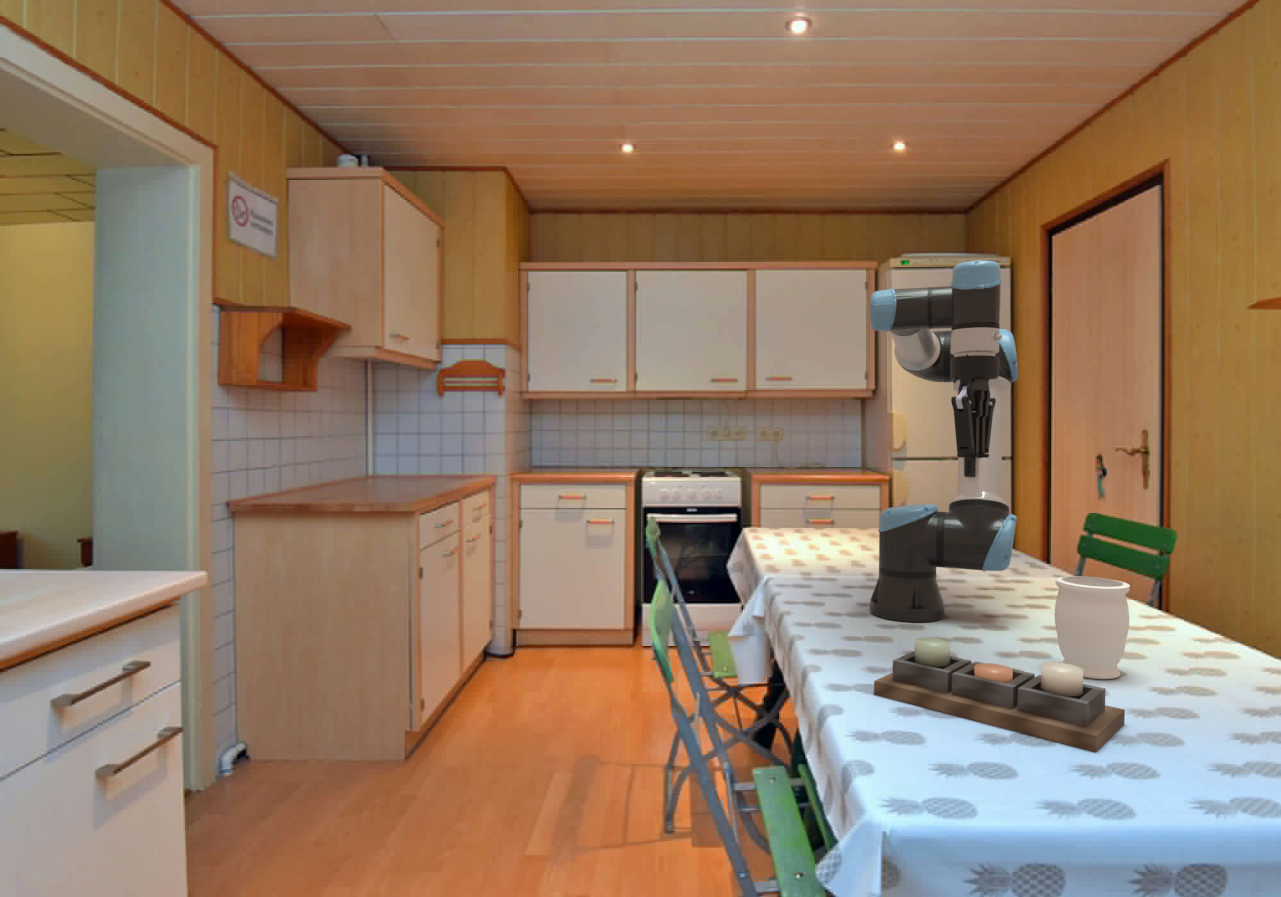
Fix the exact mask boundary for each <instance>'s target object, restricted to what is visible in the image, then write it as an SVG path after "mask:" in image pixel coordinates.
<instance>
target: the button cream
mask: <svg viewBox="0 0 1281 897" xmlns="http://www.w3.org/2000/svg"><path fill="white" fill-rule="evenodd" d="M1040 668H1041V669H1040V670H1041V671H1040V675H1041V689H1043V690H1044V691H1046V692H1049V693H1053V694H1057V695H1062V696H1080V695H1082V694H1083V684H1084V677H1083V669H1081V668H1080V667H1077V666H1074V665H1070V664H1065V663H1062V662H1056V661H1055V662H1054V661H1051V662H1043V663H1042V664H1041V666H1040Z"/></svg>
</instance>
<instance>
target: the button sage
mask: <svg viewBox="0 0 1281 897" xmlns="http://www.w3.org/2000/svg"><path fill="white" fill-rule="evenodd" d="M914 651H915V662H917V663H919V664H922V665H927V666H932V667H944V666H948V665H950V656H951V642H950V641H948V640H945V639H942V638H936V637H919V638H915V640H914Z"/></svg>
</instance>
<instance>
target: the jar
mask: <svg viewBox="0 0 1281 897" xmlns="http://www.w3.org/2000/svg"><path fill="white" fill-rule="evenodd" d="M1055 585H1056V586H1057V587H1058V592H1057V596H1056V600H1055V605H1054V624H1055V630H1056V634H1057V636H1056V637H1057V643H1058V649H1059V650H1060V653H1061V655H1062V657H1063V658H1064V659H1063V661H1061V663H1065V664H1070V665H1074V666H1077V667H1080V668H1081V669H1083V678H1085V679H1092V680H1093V679H1094V680H1113V679H1117V678H1119V677H1120V676H1121V671H1120V669H1119V667H1118V664H1120V662H1121V660H1122V658H1123V656H1124V653H1125V648H1126V641H1127V638H1128V636H1129V635H1128V634H1129V628H1130V611H1129V610H1130V609H1129V604H1128V599H1127V597H1126V594H1128V593H1129V592H1130V589H1131V588H1130V587H1131V586H1130V584H1129V583H1127V582H1124V581H1121V580H1115V579H1110V578H1104V577H1095V576H1084V575H1083V576H1080V575H1078V576H1076V575H1075V576H1073V575H1071V576H1070V575H1069V576H1061V577H1056V578H1055Z"/></svg>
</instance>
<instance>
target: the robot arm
mask: <svg viewBox="0 0 1281 897" xmlns="http://www.w3.org/2000/svg"><path fill="white" fill-rule="evenodd" d="M951 277H952V278H951V283H950V284H951V285H946V286H944V285H943V286H932V287H909V288H889V289H883V290H876V291H874V292H873V293H872V294H871V296H870V299H869V300H870V301H869V322H870V327H871V328H872V330H873V331H876V332H886V333H887V332H889V334H890V336H891V338H892V340H893V342H894V343H893V344H894V356H895V359H896V361H897V363H898V365H899V366H900V367H901V368H902V369H903V370H905V371H906V372H908V373H909V374H911V375H913V376H915V377H916V378H919V379H922V380H926V381H928V382H934V383H953V385H952V386H953V390H954V391H955V392H956V393H957V396H951V399H950V403H951V406H952V409H953V416H954V417H953V419H954V428H955V429H954V430H955V443H956V452H957V453H956V456H957V457H958V458H957V461H958V462H957V482H956V483H957V485H956V486H957V487H956V497H955V498H953V499H952V500H951V501H949V504H948V511H939V508H938V506H937V505H936V504H934V503H927V504H926V503H921V504H920V503H919V504H907V505H899V506H892V507H888V508H886V509H883V510H882V511H881V513H880V516H879V528H878V530H877V532H878V533H879V534H878V537H879V538H878V539H879V541H878V544H879V545H878V546H879V548H878V550H879V551H878V552H879V553H878V578H877V580H876V582H875V586H874V589H873V592H872V594H871V597H870V601H869V612H870V613H871V614H872V615H874V616H876V617H878V618H882V619H887V620H893V621H899V622H911V623H913V622H915V623H923V622H924V623H926V622H928V623H929V622H935V621H936V622H937V621H940V620H943V619H944V618H945V612H946V611H945V610H946V609H945V604H944V600H943V597H942V594H941V590H940V588H939V584H938V581H937V568H945V569H957V570H974V571H982V572H989V571H990V572H1003V571H1005V570H1007V569H1008V568H1009V566H1010V563H1011V558H1012V552H1013V547H1014V540H1015V533H1016V526H1017V521H1018V517H1017V515H1014V514H1013V513H1010V505H1009V504H1008V503H1007V502H1006V501H1005V500H1003V498H1002V484H1003V483H1002V481H1003V480H1002V479H1003V478H1002V476H1003V475H1002V474H1003V473H1002V472H1003V470H1002V469H1003V468H1002V467H1003V419H1004V418H1003V405H1004V404H1003V403H1004V400H1003V399H1004V395H1005V394H1006V393H1007V392H1009V391H1010V389H1011V386H1012V385H1011V384H1012V383H1014V382H1016V381H1017V380H1018V379H1019V366H1018V356H1017V349H1016V342H1015V338H1014V335H1013V333H1012V332H1011V330H1009V329H1006V328H1001V327H1000V322H1001V321H1000V317H1001V316H1000V314H1001V289H1002V288H1001V286H1002V278H1001V277H1002V276H1001V266H1000V264H999V263H998V262H996V261H994V260H972V261H971V260H970V261H966V262H965V261H964V262H962V263H961V262H960V263H958V264H955V266H954V267H953V269H952V276H951ZM932 329H933V330H934V331H932ZM935 329H951V330H935Z"/></svg>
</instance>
